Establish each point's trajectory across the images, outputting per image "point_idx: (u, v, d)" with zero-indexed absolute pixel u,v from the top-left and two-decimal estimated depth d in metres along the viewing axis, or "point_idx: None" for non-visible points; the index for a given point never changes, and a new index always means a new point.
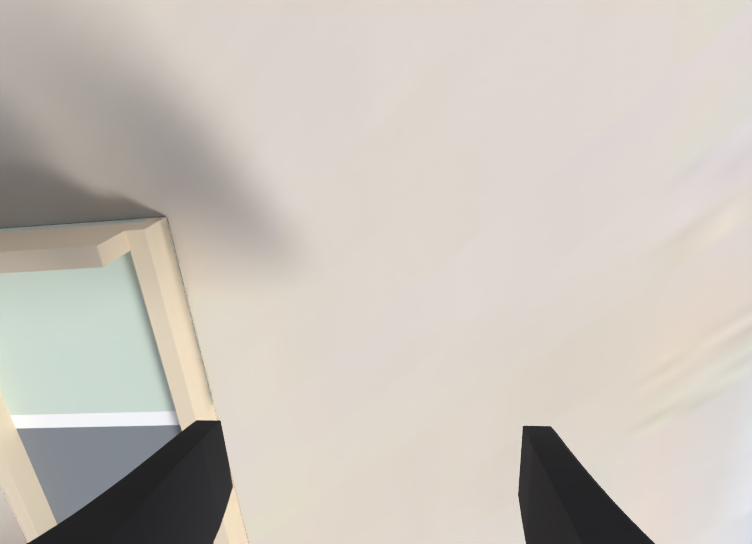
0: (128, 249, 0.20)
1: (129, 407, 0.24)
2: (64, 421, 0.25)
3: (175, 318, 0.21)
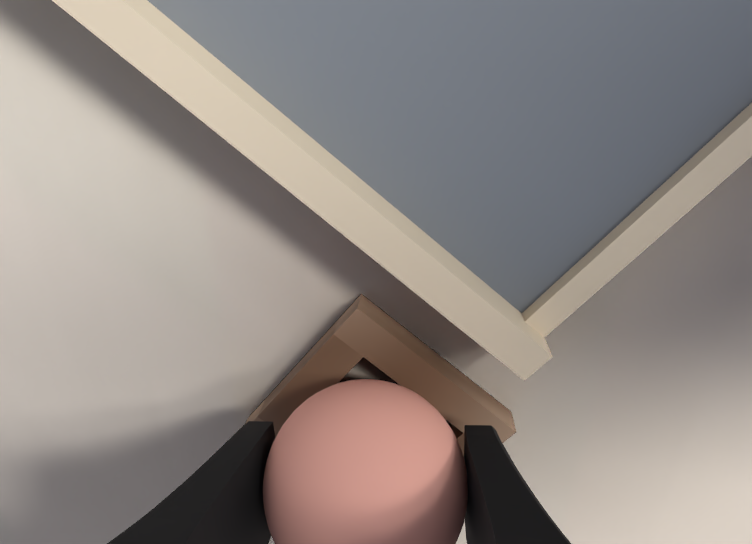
0: None
1: None
2: None
3: None
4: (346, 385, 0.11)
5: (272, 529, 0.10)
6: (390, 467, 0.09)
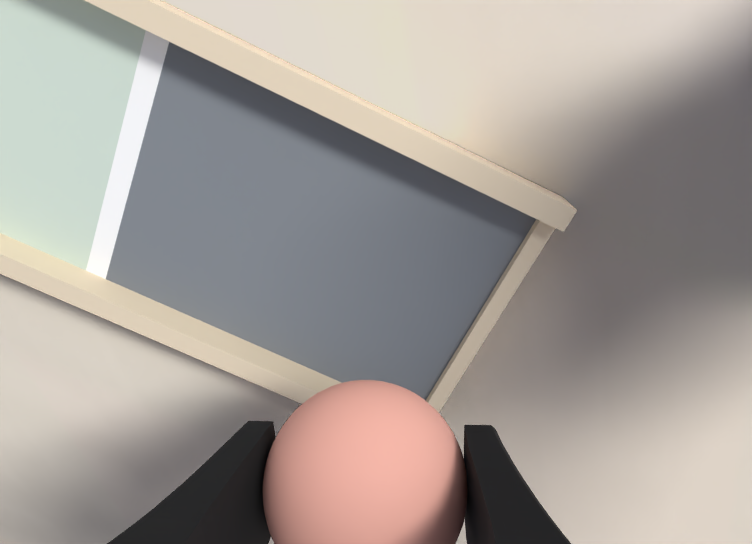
0: None
1: (116, 111, 0.17)
2: (113, 213, 0.19)
3: None
4: (346, 386, 0.11)
5: (273, 530, 0.10)
6: (391, 468, 0.09)
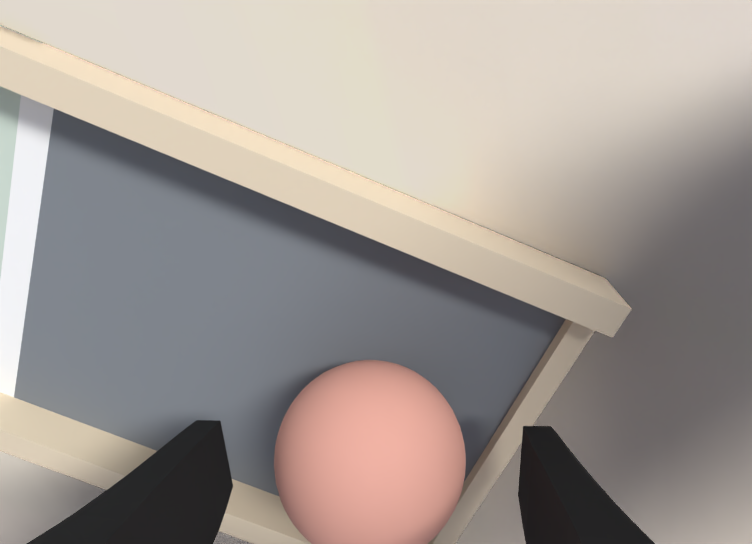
0: None
1: None
2: (12, 319, 0.14)
3: None
4: (352, 364, 0.12)
5: (284, 496, 0.11)
6: (394, 437, 0.10)
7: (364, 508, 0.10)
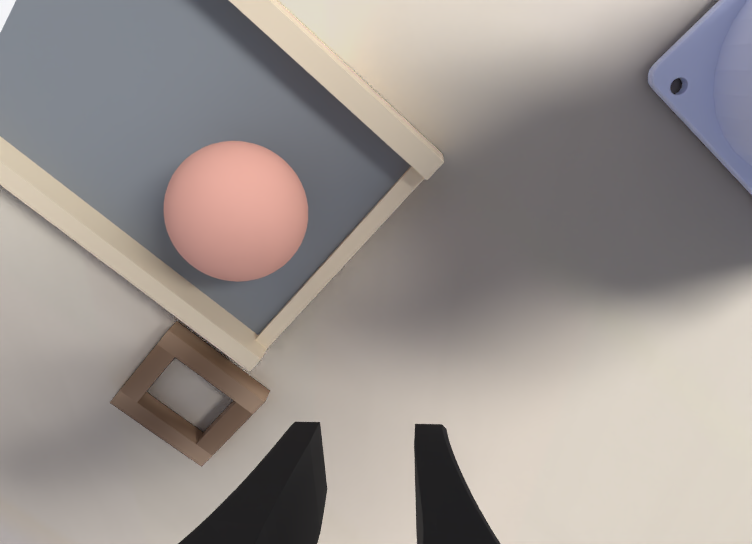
0: None
1: None
2: None
3: None
4: None
5: (167, 204, 0.15)
6: (257, 178, 0.15)
7: (222, 213, 0.14)
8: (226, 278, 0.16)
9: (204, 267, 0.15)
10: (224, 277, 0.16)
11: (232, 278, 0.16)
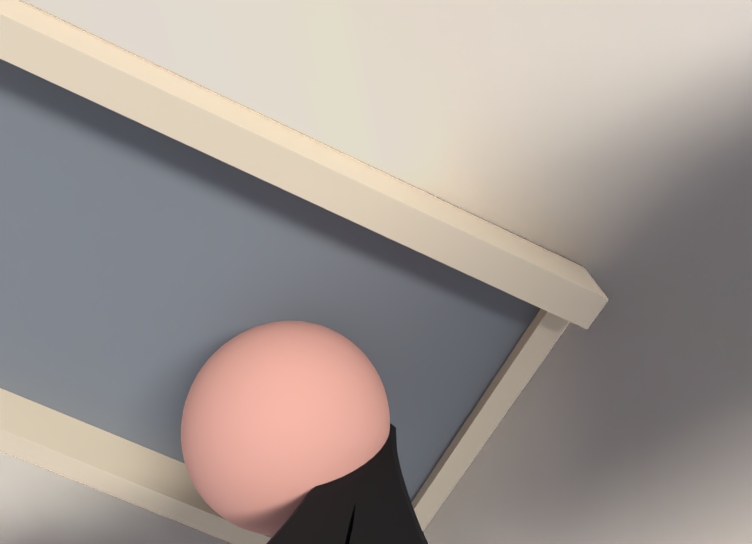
0: None
1: None
2: None
3: None
4: None
5: None
6: (281, 377, 0.10)
7: (227, 438, 0.09)
8: (263, 533, 0.10)
9: (226, 519, 0.10)
10: (259, 532, 0.10)
11: (269, 534, 0.10)
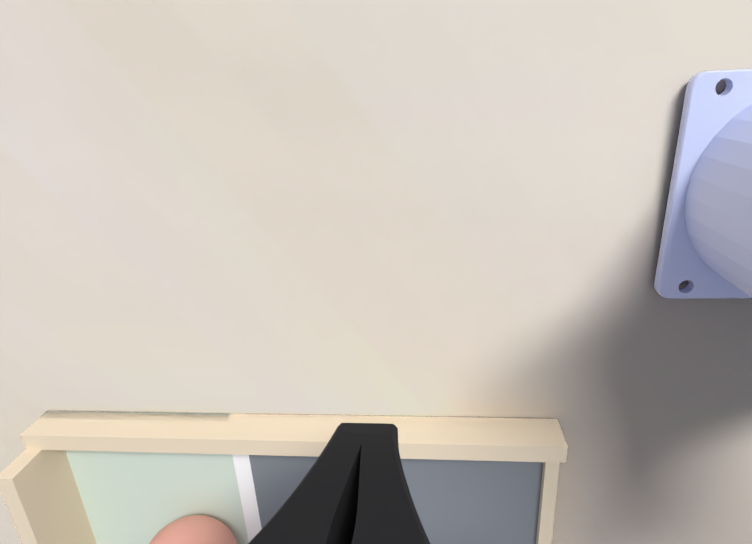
0: (39, 451, 0.23)
1: (232, 487, 0.25)
2: None
3: (110, 429, 0.23)
4: None
5: None
6: (197, 516, 0.24)
7: (194, 534, 0.23)
8: None
9: None
10: None
11: None
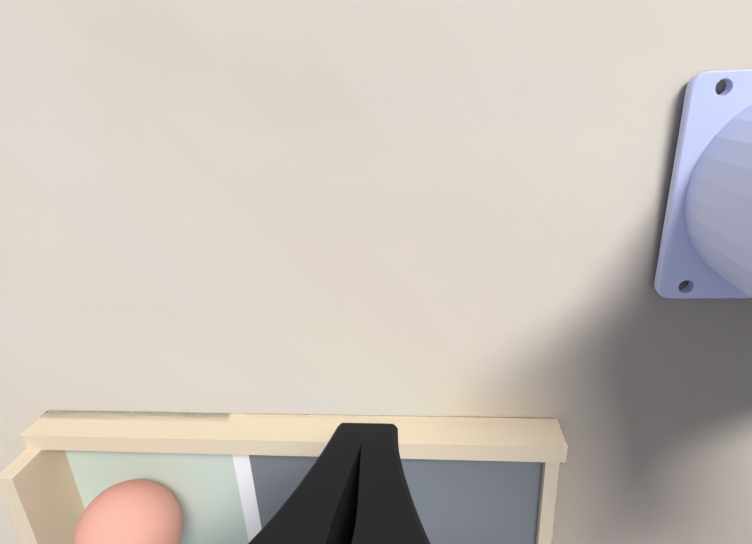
0: (39, 451, 0.23)
1: (232, 487, 0.25)
2: None
3: (110, 429, 0.23)
4: None
5: (123, 481, 0.24)
6: (179, 506, 0.24)
7: (158, 490, 0.23)
8: (107, 525, 0.21)
9: (110, 506, 0.22)
10: (108, 522, 0.21)
11: (112, 526, 0.21)
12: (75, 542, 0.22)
